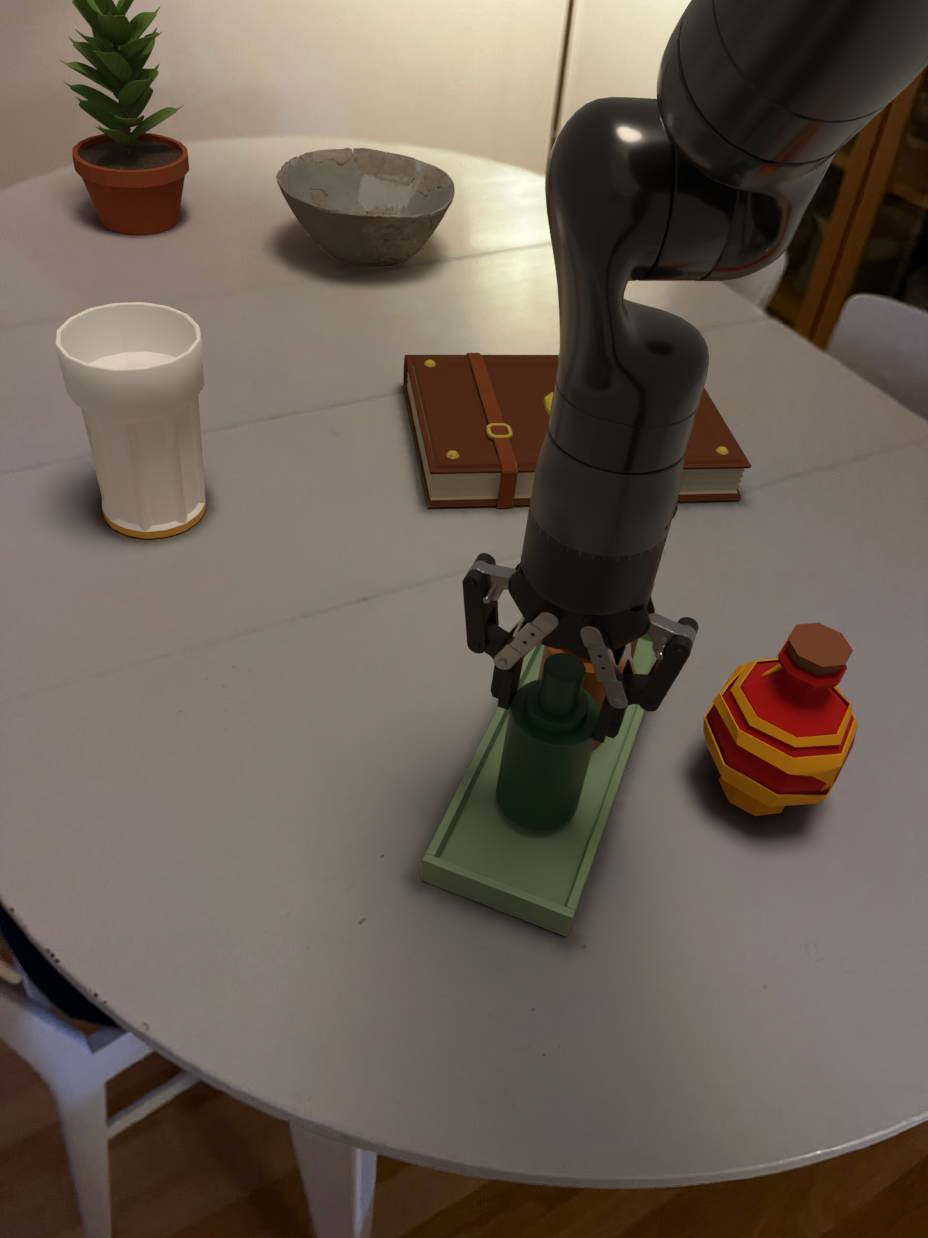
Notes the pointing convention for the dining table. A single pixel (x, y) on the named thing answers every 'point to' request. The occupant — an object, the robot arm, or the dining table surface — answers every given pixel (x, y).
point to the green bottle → (547, 746)
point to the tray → (517, 856)
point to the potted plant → (125, 125)
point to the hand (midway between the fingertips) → (554, 715)
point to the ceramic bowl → (366, 203)
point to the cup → (139, 412)
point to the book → (524, 431)
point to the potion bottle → (784, 724)
